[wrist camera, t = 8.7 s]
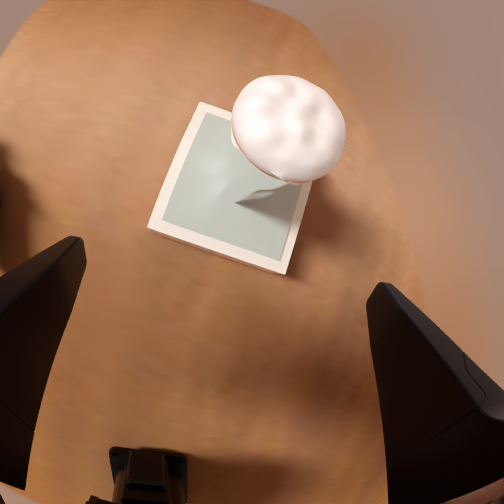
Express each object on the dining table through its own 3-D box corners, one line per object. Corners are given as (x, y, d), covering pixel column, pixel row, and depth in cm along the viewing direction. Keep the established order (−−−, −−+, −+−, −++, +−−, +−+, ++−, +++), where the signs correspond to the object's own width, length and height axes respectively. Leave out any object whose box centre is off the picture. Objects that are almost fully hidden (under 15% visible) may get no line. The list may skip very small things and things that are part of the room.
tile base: (270, 272, 22) (286, 274, 19) (150, 232, 20) (146, 227, 16) (303, 163, 23) (321, 150, 20) (196, 120, 20) (200, 100, 17)
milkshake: (191, 211, 17) (213, 151, 7) (221, 135, 18) (270, 30, 8) (261, 237, 18) (355, 213, 9) (286, 161, 19) (378, 87, 9)
